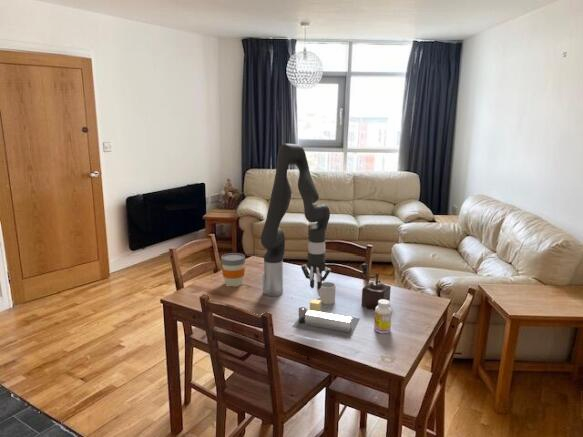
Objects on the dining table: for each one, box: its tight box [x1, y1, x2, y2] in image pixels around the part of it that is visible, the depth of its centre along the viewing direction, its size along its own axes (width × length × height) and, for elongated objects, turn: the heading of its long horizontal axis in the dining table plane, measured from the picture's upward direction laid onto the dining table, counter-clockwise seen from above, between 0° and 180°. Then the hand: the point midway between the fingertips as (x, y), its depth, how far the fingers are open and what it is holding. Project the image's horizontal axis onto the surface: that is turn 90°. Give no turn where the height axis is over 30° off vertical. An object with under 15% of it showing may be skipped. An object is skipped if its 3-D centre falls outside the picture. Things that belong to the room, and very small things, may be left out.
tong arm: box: [307, 309, 353, 329], centre depth 179 cm, size 19×2×4 cm, turn 69°
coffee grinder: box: [360, 263, 392, 312], centre depth 199 cm, size 16×11×18 cm
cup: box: [317, 281, 337, 305], centre depth 203 cm, size 7×10×9 cm
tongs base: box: [298, 306, 351, 332], centre depth 178 cm, size 23×4×6 cm, turn 69°
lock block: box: [309, 298, 322, 312], centre depth 189 cm, size 4×4×6 cm
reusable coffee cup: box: [220, 252, 246, 287], centre depth 222 cm, size 12×13×15 cm
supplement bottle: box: [373, 299, 393, 334], centre depth 175 cm, size 7×7×13 cm
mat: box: [291, 308, 361, 339], centre depth 182 cm, size 25×18×1 cm
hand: (315, 288), depth 186 cm, fingers closed
